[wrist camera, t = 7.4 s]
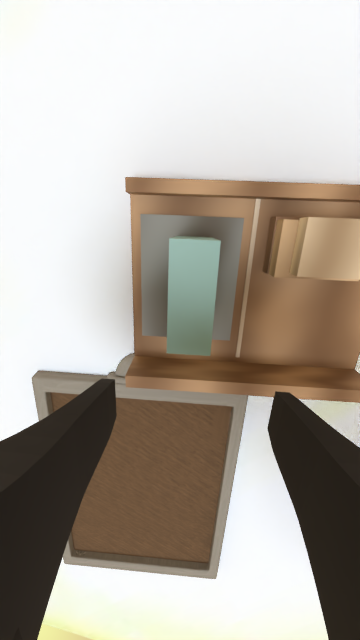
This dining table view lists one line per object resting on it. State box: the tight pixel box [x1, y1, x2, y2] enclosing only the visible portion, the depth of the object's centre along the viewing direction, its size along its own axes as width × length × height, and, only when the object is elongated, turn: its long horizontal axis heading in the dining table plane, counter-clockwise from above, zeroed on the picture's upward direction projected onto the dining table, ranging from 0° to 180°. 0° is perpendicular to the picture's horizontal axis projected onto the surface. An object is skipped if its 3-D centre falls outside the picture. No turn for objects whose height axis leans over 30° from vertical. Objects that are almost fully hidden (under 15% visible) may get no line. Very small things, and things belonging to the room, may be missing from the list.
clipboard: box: [32, 353, 248, 579], centre depth 27 cm, size 19×2×30 cm
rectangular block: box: [167, 236, 221, 356], centre depth 15 cm, size 2×6×6 cm, turn 178°
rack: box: [125, 177, 360, 403], centre depth 17 cm, size 18×14×4 cm
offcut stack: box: [263, 217, 360, 281], centre depth 16 cm, size 6×4×4 cm, turn 88°
